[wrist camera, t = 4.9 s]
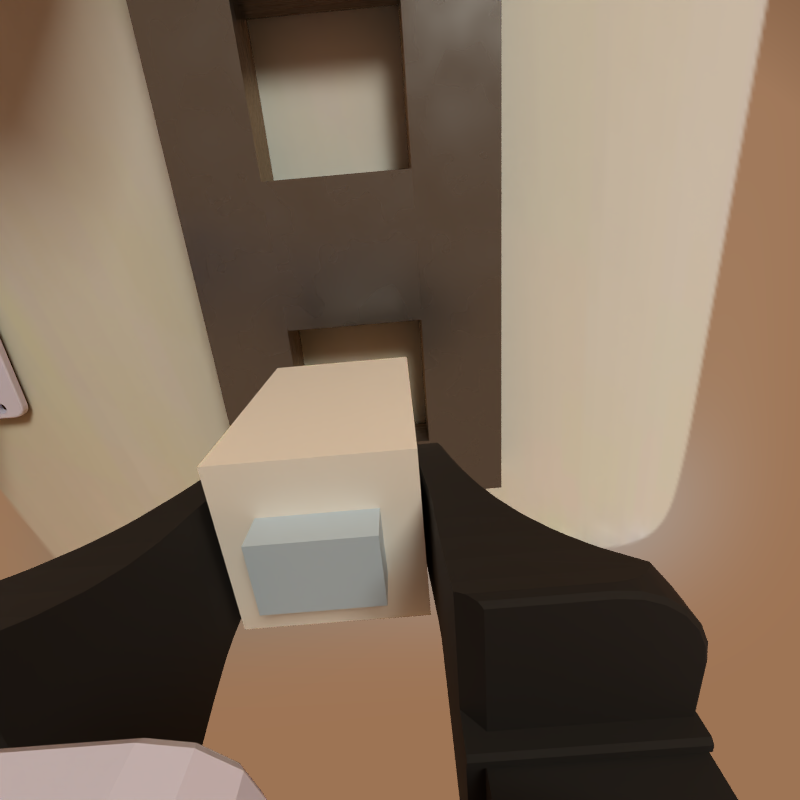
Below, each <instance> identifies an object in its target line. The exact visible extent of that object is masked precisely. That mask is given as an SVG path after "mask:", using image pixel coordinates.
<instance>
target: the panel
mask: <svg viewBox="0 0 800 800" xmlns="http://www.w3.org/2000/svg"><path fill="white" fill-rule="evenodd" d="M127 5H128V9H129V13H130V17H131V21H132V25H133V29H134V33H135V37H136V42H137V46H138V50H139V54H140V58H141V62H142V66H143V70H144V74H145V79H146V83H147V87H148V91H149V95H150V99H151V103H152V107H153V111H154V116H155V120H156V124H157V128H158V132H159V136H160V140H161V144H162V148H163V153H164V157H165V161H166V165H167V169H168V173H169V177H170V181H171V185H172V190H173V194H174V198H175V202H176V206H177V210H178V214H179V218H180V222H181V227H182V231H183V235H184V239H185V243H186V247H187V251H188V255H189V259H190V264H191V268H192V272H193V276H194V280H195V284H196V288H197V292H198V296H199V301H200V305H201V309H202V313H203V317H204V321H205V325H206V329H207V333H208V337H209V342H210V346H211V350H212V354H213V358H214V362H215V366H216V370H217V374H218V379H219V383H220V387H221V391H222V395H223V399H224V403H225V407H226V411H227V416H228V420H229V424H230V426H231V425H232V423H233V422H234V421H235V420H236V419H237V417H238V416H239V415H240V414H241V412H242V411H243V410H244V409H245V407H246V406H247V405H248V404H249V403H250V401H251V400H252V399H253V398H254V396H255V395H256V394H257V393H258V391H259V390H260V389H261V388H262V387H263V385H264V384H265V383H266V382H267V380H268V379H269V378H270V377H271V375H272V374H273V373H274V372H275V371H276V369H277V368H284V367H295V366H305V365H304V359H303V353H302V347H301V341H300V335H299V330H306V329H317V328H329V327H341V326H353V325H364V324H376V323H388V322H399V321H411V320H419V324H420V339H421V354H422V369H423V384H424V399H425V414H426V423H417V424H415V433H416V441H417V444H427V443H439V444H440V445H441V446H442V447H443V448H444V450H445V451H446V452H447V453H448V454H449V455H450V457H451V458H452V459H453V460H454V461H455V462H456V463H457V464H458V465H459V466H460V467H461V468H462V469H463V470H464V471H465V472H466V473H467V474H468V475H469V476H470V477H471V478H472V479H473V480H475V481H476V482H477V483H478V484H479V485H480V486H481V487H483V488H484V489H486V488H498V487H501V0H127ZM392 5H398V10H399V25H400V40H401V55H402V70H403V85H404V100H405V115H406V130H407V145H408V159H409V169H399V170H388V171H377V172H366V173H355V174H344V175H333V176H322V177H311V178H300V179H288V180H277V181H274V180H273V174H272V168H271V162H270V156H269V150H268V144H267V138H266V132H265V126H264V120H263V114H262V108H261V102H260V96H259V90H258V84H257V78H256V72H255V66H254V60H253V54H252V48H251V42H250V36H249V30H248V24H247V19H256V18H266V17H277V16H287V15H298V14H308V13H318V12H329V11H339V10H350V9H360V8H371V7H381V6H392Z"/></svg>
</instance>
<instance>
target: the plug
mask: <svg viewBox="0 0 800 800" xmlns="http://www.w3.org/2000/svg"><path fill="white" fill-rule="evenodd" d="M197 469H198V473H199V476H200V479H201V483H202V486H203V490H204V493H205V496H206V500H207V503H208V507H209V510H210V513H211V517H212V520H213V524H214V527H215V530H216V534H217V537H218V540H219V544H220V547H221V551H222V554H223V557H224V561H225V564H226V568H227V571H228V574H229V578H230V581H231V585H232V588H233V591H234V595H235V598H236V602H237V605H238V608H239V612H240V615H241V619H242V622H243V625H244V629H257V628H270V627H283V626H295V625H307V624H321V623H333V622H346V621H358V620H371V619H384V618H396V617H409V616H421V615H431V613H430V612H431V611H430V600H429V587H428V574H427V562H426V550H425V537H424V525H423V512H422V500H421V488H420V475H419V463H418V450H417V441H416V433H415V424H414V415H413V407H412V398H411V389H410V381H409V372H408V363H407V357H397V358H386V359H374V360H363V361H352V362H340V363H329V364H318V365H307V366H295V367H284V368H277V369H276V371H275V372H274V373H273V374H272V375H271V377H270V378H269V379H268V380H267V382H266V383H265V384H264V385H263V387H262V388H261V389H260V390H259V391H258V393H257V394H256V395H255V396H254V398H253V399H252V400H251V401H250V403H249V404H248V405H247V406H246V407H245V409H244V410H243V411H242V412H241V414H240V415H239V416H238V417H237V419H236V420H235V421H234V422H233V423H232V425H231V426H230V427H229V428H228V430H227V431H226V432H225V433H224V435H223V436H222V437H221V438H220V439H219V441H218V442H217V443H216V444H215V446H214V447H213V448H212V449H211V451H210V452H209V453H208V454H207V455H206V457H205V458H204V459H203V460H202V462H201V463H200V464H199V465H198V466H197Z"/></svg>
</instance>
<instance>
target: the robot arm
mask: <svg viewBox="0 0 800 800" xmlns="http://www.w3.org/2000/svg"><path fill="white" fill-rule="evenodd" d="M2 405H4V406H5V407H6V410H5V409H4V408H3V407H2ZM27 411H28V404H27V402H26V399H25V397H24V395H23V392H22V390H21V387H20V385H19V383H18V380H17V378H16V375H15V373H14V371H13V368H12V366H11V363H10V361H9V359H8V356H7V354H6V351H5V349H4V347H3V344H2V342H1V340H0V419H4V418H16V417H20V416H22V415H24V414H25V413H26V412H27ZM417 450H418V463H419V475H420V488H421V500H422V512H423V525H424V537H425V550H426V562H427V567H428V572H429V577H430V581H431V586H432V591H433V595H434V600H435V605H436V610H437V615H438V619H439V625H440V631H441V636H442V645H443V653H444V662H445V671H446V679H447V688H448V697H449V706H450V715H451V723H452V733H453V742H454V751H455V760H456V769H457V778H458V787H459V796H460V800H738V799H737V797H736V795H735V794H734V792H733V791H732V789H731V787H730V786H729V784H728V782H727V781H726V779H725V777H724V776H723V774H722V772H721V771H720V769H719V768H718V766H717V765H716V763H715V761H714V760H713V758H712V756H711V755H710V753H709V752H712V751H713V748H714V743H713V740H712V737H711V735H710V733H709V732H708V730H707V729H706V727H705V725H704V724H703V722H702V721H701V719H700V718H699V716H698V714H697V713H696V711H695V710H696V706H697V702H698V698H699V693H700V689H701V684H702V680H703V676H704V671H705V667H706V663H707V648H708V641H707V638H706V636H705V633H704V630H703V627H702V625H701V623H700V622H699V620H698V619H697V618H696V617H695V615H694V614H693V613H692V612H691V610H690V609H689V608H688V606H687V605H686V604H685V602H684V601H683V600H682V598H681V597H680V596H679V595H678V594H677V592H676V591H675V590H674V588H673V587H672V586H671V585H670V584H669V583H668V582H667V581H666V579H665V578H664V577H663V576H662V575H661V574H660V573H659V572H658V571H657V570H656V569H655V567H653V565H652V564H651V563H650V562H648V561H644V560H641V559H638V558H634V557H631V556H627V555H623V554H620V553H616V552H613V551H610V550H607V549H603V548H600V547H597V546H594V545H591V544H588V543H586V542H583V541H581V540H578V539H575V538H573V537H570V536H567V535H565V534H563V533H560V532H558V531H556V530H553V529H551V528H549V527H547V526H545V525H543V524H541V523H539V522H537V521H535V520H533V519H531V518H529V517H527V516H525V515H523V514H521V513H520V512H518V511H516V510H515V509H513V508H511V507H510V506H508V505H507V504H505V503H504V502H502V501H500V500H499V499H497V498H496V497H495V496H493V495H492V494H490V493H489V492H488V491H486V490H485V489H484V488H483V487H481V486H480V485H479V484H478V483H477V482H476V481H475V480H473V479H472V478H471V477H470V476H469V475H468V474H467V473H466V472H465V471H464V470H463V469H462V468H461V467H460V466H459V465H458V464H457V463H456V462H455V461H454V460H453V459H452V458H451V457H450V455H449V454H448V453H447V452H446V451H445V450H444V448H443V447H442V446H441V445H440V444H439V443H427V444H417ZM240 620H241V615H240V612H239V608H238V605H237V602H236V598H235V595H234V591H233V588H232V585H231V581H230V578H229V574H228V571H227V568H226V564H225V561H224V557H223V554H222V551H221V547H220V544H219V540H218V537H217V534H216V530H215V527H214V524H213V520H212V517H211V513H210V510H209V507H208V503H207V500H206V496H205V493H204V490H203V486H202V483H201V480H200V481H198V482H197V483H195V484H193V485H192V486H190V487H189V488H187V489H186V490H184V491H183V492H181V493H179V494H178V495H176V496H175V497H173V498H171V499H170V500H168V501H166V502H165V503H163V504H161V505H160V506H158V507H156V508H154V509H153V510H151V511H149V512H148V513H146V514H144V515H143V516H141V517H139V518H138V519H136V520H134V521H132V522H130V523H129V524H127V525H125V526H123V527H121V528H119V529H117V530H115V531H113V532H111V533H109V534H107V535H105V536H103V537H101V538H99V539H97V540H95V541H93V542H91V543H89V544H87V545H85V546H83V547H81V548H78V549H76V550H74V551H71V552H69V553H67V554H64V555H62V556H60V557H57V558H55V559H53V560H50V561H48V562H46V563H43V564H41V565H39V566H36V567H34V568H31V569H29V570H26V571H24V572H21V573H19V574H16V575H13V576H11V577H8V578H5V579H3V580H0V800H267V799H266V797H265V796H264V794H263V793H262V791H261V790H260V789H259V787H258V786H257V785H256V783H255V782H254V781H253V780H252V778H251V777H250V776H249V775H248V773H247V772H246V771H245V770H244V768H243V767H242V766H241V764H240V763H238V762H237V761H234V760H232V759H230V758H228V757H226V756H224V755H222V754H219V753H217V752H215V751H213V750H211V749H208V748H206V747H204V746H202V744H203V740H204V736H205V733H206V729H207V725H208V721H209V717H210V713H211V710H212V706H213V702H214V699H215V695H216V692H217V688H218V685H219V681H220V678H221V674H222V671H223V667H224V664H225V660H226V657H227V654H228V651H229V649H230V646H231V643H232V640H233V637H234V635H235V632H236V630H237V627H238V625H239V622H240Z"/></svg>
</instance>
